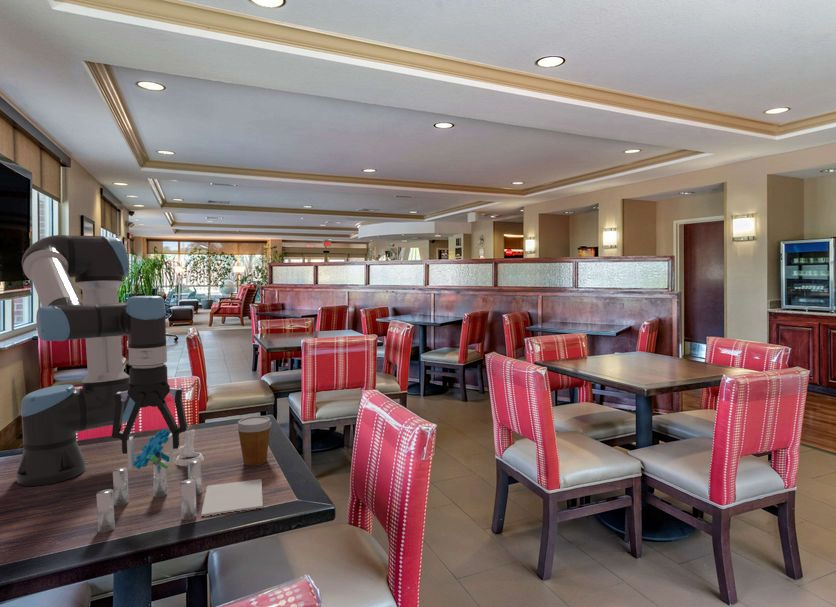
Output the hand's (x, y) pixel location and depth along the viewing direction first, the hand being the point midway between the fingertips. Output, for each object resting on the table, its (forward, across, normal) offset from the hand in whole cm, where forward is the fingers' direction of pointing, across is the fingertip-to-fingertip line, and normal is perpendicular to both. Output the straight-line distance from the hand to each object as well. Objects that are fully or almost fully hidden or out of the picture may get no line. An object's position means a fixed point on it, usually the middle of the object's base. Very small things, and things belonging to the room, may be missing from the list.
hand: (151, 464), depth 116 cm
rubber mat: (+10, +17, 0) cm, 20 cm away
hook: (+11, +4, +30) cm, 33 cm away
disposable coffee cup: (+11, +22, +24) cm, 34 cm away
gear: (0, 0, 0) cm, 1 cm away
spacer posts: (+10, 0, 0) cm, 10 cm away
